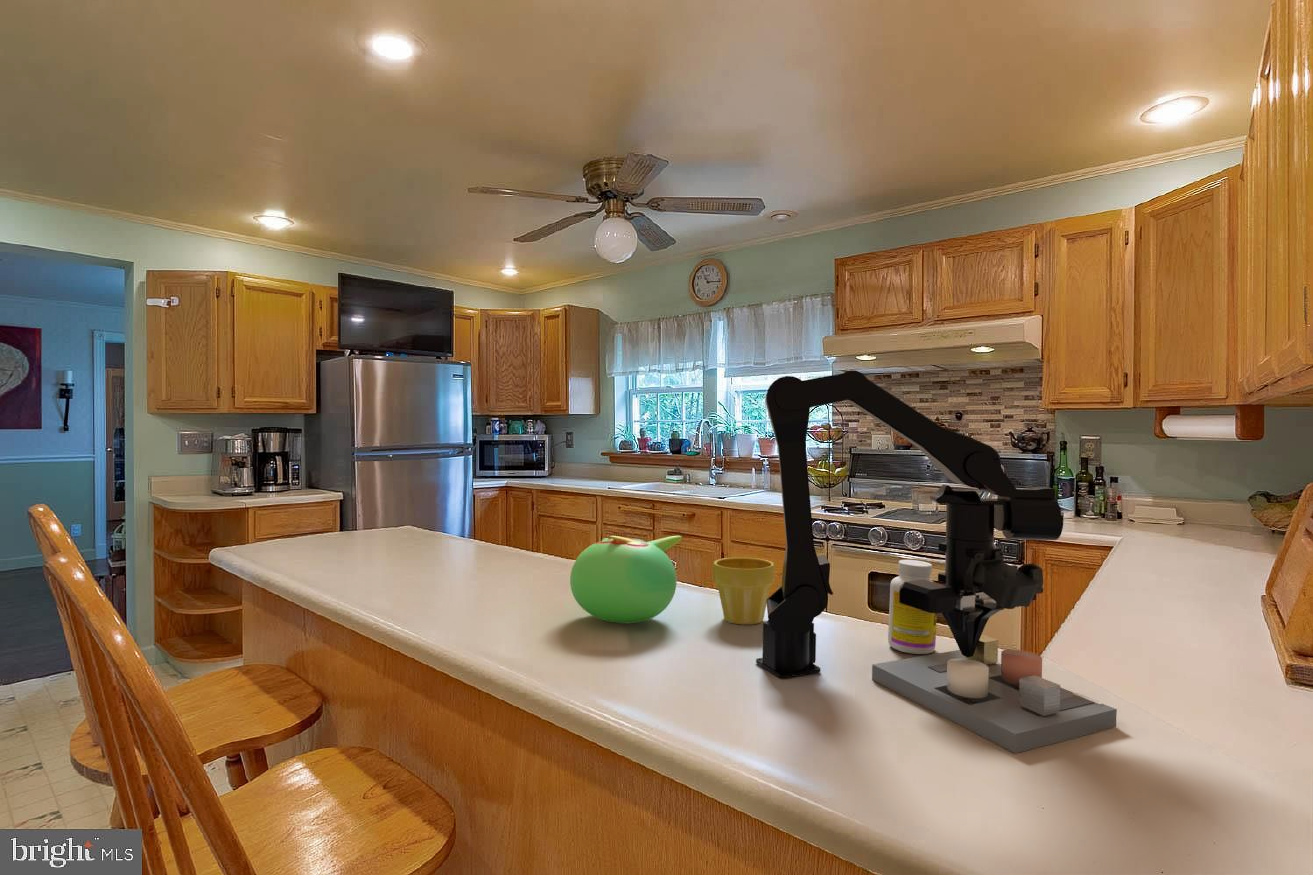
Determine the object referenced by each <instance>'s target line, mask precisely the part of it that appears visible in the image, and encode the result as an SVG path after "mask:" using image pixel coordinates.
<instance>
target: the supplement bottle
mask: <svg viewBox="0 0 1313 875" xmlns="http://www.w3.org/2000/svg"><path fill="white" fill-rule="evenodd" d="M897 563H898V565H897V569H898V572H899V574H898V576H896V577H894V578H892V580H891V581H890V585H889V586H890V587H889V590H890V591H889V608H888V609H889V612H888V630H887V641H888V644H889V646H890V647H891V648H893V649H894V650H896V651H899V652H903V653H905V654H906V653H907V654H914V655H930V654H931V653H933V652H934V651H935V649H936V639H937V638H936V637H937V620H938V618H937V616H938V613H937V614H936V613H928V612H926V611H923V610H920V609H917V608H914V607H911V606H908V605H905V604H902V603H899V590H900V586H901V585H902V584H903V583H904V582H908V581H917V580H927V581H931V582H934V581H933V580H931V575H932V571H933V564H931V563H929V562H928V561H927V562H926V561H922V560H916V559H900V560H899V561H898V562H897Z"/></svg>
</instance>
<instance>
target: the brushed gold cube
mask: <svg viewBox="0 0 1313 875" xmlns="http://www.w3.org/2000/svg"><path fill="white" fill-rule="evenodd" d="M965 658H967V659H970V660H975V661H978V662H981V663H983V664H985V665H987V664H993V663H999V662H998V658H999V639H996V638H995V637H990V636H988V635H985V634H982V635H981V637H980V640H979V642H978V645H977V647H976V650H975V652H974V655H973V656H972V657H966V656H965Z"/></svg>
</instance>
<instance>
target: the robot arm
mask: <svg viewBox="0 0 1313 875" xmlns="http://www.w3.org/2000/svg"><path fill="white" fill-rule="evenodd" d="M839 402H846V403H848V404H850V405H852V407H853V406H854V407H855V408H856V409H858V410H859V411H861V412H862V413H864V414H865V415H867V416H869V417H870V418H872V419H873V420H875V421H877V423H880V424H881V425H882V426H884V427H885V428H887V429H888V430H889V431H892V432H893V433H895V434H896V435H898V436H899V437H900V438H903V440H906V441H907V442H908V443H910V444H912V445H913V446H914V447H916V448H917V449H919V451H920V452H922V453H923V455H924V456H925V457H926V458H927V459H928V460H929V461H930V462H931V464H933V465H934V466H935V467H936V468H937V469H938V470H939V471H940V472H941V473H942V474H943V475H944V476H945V477H947V478H948V479H949V480H950V481H951V482H954V483H956V484H959V485H963V486H966V487H970V488H975V489H976V490H979V491H981V492H984V493H988V494H990V495H991V494H992V495H995V496H997V498H988V497H987V498H986V497H985V498H984V497H980V494H979V493H978V492H977V491H976V490H961V489H960V490H958V489H957V490H954V489H953V488H951V486H950V485H948V484H945V483H942V485H940V487H939V489H938V490H936V491H935V492H934V493H932V494H931V495H930V496H929V499H930V501H931V502H935V503H937V504H942V505H943V504H944V505H945V504H946V506H945V508H946V509H945V510H946V511H945V515H946V516H945V541H944V542H938V547H937V548H938V551H940V552H943V553H945V558H944V559H945V561H944V562H945V564H944V566H945V567H944V568H945V569H944V570H945V571H944V572H941V573H940V572H939V573H937V582H935V581H933V582H931V581H932V580H931V581H927V580H917V581H908V582H904V583H903V584H902V585H901V586H900V590H899V603H902V604H905V605H908V606H911V607H914V608H917V609H920V610H923V611H926V612H928V613H936V614H937V615H938V614H941V615H942V616H943V619H944V620H945V621H946V624H947V625H948V627H949V629H950V632H951V634H952V636H953V638H954V640H955V643H956V645H957V647H958V650H960V651H961V653H962V655H963V656H966V657H972V656H973V655H974V652H975V650H976V647H977V645H978V642H979V640H980V637H981V635H983V632H984V630H985V628H986V625H987V623H988V621H989V619H990V618H991V617H992V616H994V615H995V614H997V613H999V612H1000V611H1004V610H1005V609H1006V610H1013V609H1015V608H1019V607H1025V608H1028V607H1030V606H1031V603H1032V602H1033V601H1037V595H1039V594H1043V593H1044V588H1043V585H1044V575H1043V574H1044V573H1043V572H1044V571H1043V568H1042V567H1040V566H1038V565H1037V564H1035V563H1024V564H1021V566H1019V567H1018V565H1016V564H1015V565H1013V564H1012V565H1010V564H1008V563H1006V562H1005V561H1004V551H1003V550H1002V547H997V546H994V545H995V544H994V543H995V529H996V530H997V531H998V532H1002V534H1003V536H1004V538H1005V539H1007V540H1028V541H1030V540H1031V541H1034V540H1035V541H1057V540H1059V539H1060V537H1061V534H1062V533H1063V528H1064V516H1063V514H1062V511H1061V510H1062V509H1061V506H1060V504H1059V501H1058V499H1057V498H1056V489H1054V488H1051V487H1047V486H1046V487H1045V486H1043V487H1042V486H1041V487H1040V486H1039V487H1033V488H1025V487H1024V488H1022V487H1020V488H1019V487H1016V486H1015V484H1014V483H1013V482H1012V480H1011V479H1009V476H1007V475H1006V473H1005V471H1003V469H1002V461H1001V455H1000V454H999V452H998V451H997V450H996V449H995V448H994V447H992V446H991V445H989V444H986V443H984V442H982V441H979V440H977V439H975V438H972V437H970V436H968V435H965V434H962V433H959V432H957V431H954V430H951V429H949V428H946V427H944V426H941V425H940V424H938V423H936V422H935V421H933V420H932V419H931V418H929V417H927V416H925V414H923V413H921V412H919V411H918V410H916V409H914V408H913V407H912V406H910V405H909V404H907V403H905V402H904V401H902V400H901V399H900V398H898V397H896V396H895V395H893V394H892V393H890V392H889V391H887V390H886V389H884V388H882V387H881V386H879V385H878V384H876V383H874V382H873V381H871V380H870V379H869V378H868V377H867V376H866V375H865V374H864V373H863V372H861V371H858V370H851V369H850V370H846V371H845V372H843V373H837V374H831V375H826V376H820V377H814V378H810V379H805V380H802V379H801V378H798V377H796V376H793V375H790V376H789V375H785V376H782V377H778V378H777V379H776V380H773V381H772V383H771V384H770V385H769V386H768V389H767V391H766V394H765V406H766V409H767V413H768V417H769V421H770V425H771V428H772V431H773V435H774V440H775V441H776V445H777V453H778V454H777V455H778V465H779V466H778V467H779V475H780V486H781V490H780V491H781V500H782V511H783V523H784V524H783V525H784V534H785V551H784V557H783V563H782V564H783V565H782V567H783V568H782V576H781V585H780V586H779V587H778V589H776V590H775V591H774V592H773V593H772V594H771V595H769V596H768V598H767V600H766V601H767V604H766V611H767V612H766V613H767V620H766V621H765V620H763V621H762V657H759V658H756V659H755V663H756V664H758V665H759V666H760V667H763V668H764V669H765V670H767V671H769V672H770V673H772V674H774V675H775V676H776V677H778V678H781V679H785V678H786V679H787V678H792V677H797V676H805V675H809V674H816V673H820V672H821V669H822V668H821V667H820V666H818V665H816V664H815V663H816V662H817V660H816V659H817V658H816V657H817V656H816V655H817V653H816V652H817V634H816V632H815V623H814V620H815V618H816V617H818V616H820V615H821V614H823V612H824V611H825V610H826V609H827V607H828V603H829V602H828V601H829V595H831V596H833V595H834V592H833V590H832V588H831V585H830V572H831V564H830V562H829V560H828V558H827V556H826V555H825V554H822V555H817V550H816V548H815V542H814V540H815V539H814V538H815V537H814V530H813V529H814V527H813V520H812V519H813V517H812V508H811V507H812V506H811V505H812V504H811V494H810V483H809V482H810V481H809V473H808V472H809V471H808V461H807V460H808V459H807V458H808V457H807V448H806V443H807V435H808V429H809V421H810V420H809V419H810V411H811V410H810V409H811V408H814V407H815V408H816V407H820V406H824V405H825V406H826V405H830V404H835V403H839ZM938 582H940V583H938ZM941 583H943V584H941Z"/></svg>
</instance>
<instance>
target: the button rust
mask: <svg viewBox="0 0 1313 875" xmlns="http://www.w3.org/2000/svg"><path fill="white" fill-rule="evenodd" d="M1000 657H1001V658H1000V659H1001V660H1000V664H1001V678H1002V679H1003V680H1005V681H1007V682H1009V683H1012V684H1015V685H1019V679H1020V678H1024V677H1029V676H1034V675H1035V676H1038V677H1041V678H1043V657H1042V656H1040V655H1039V654H1037V653H1035V652H1032V651H1027V650H1022V649H1013V648H1010V649H1009V648H1008V649H1003V650H1002V651H1001V655H1000Z"/></svg>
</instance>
